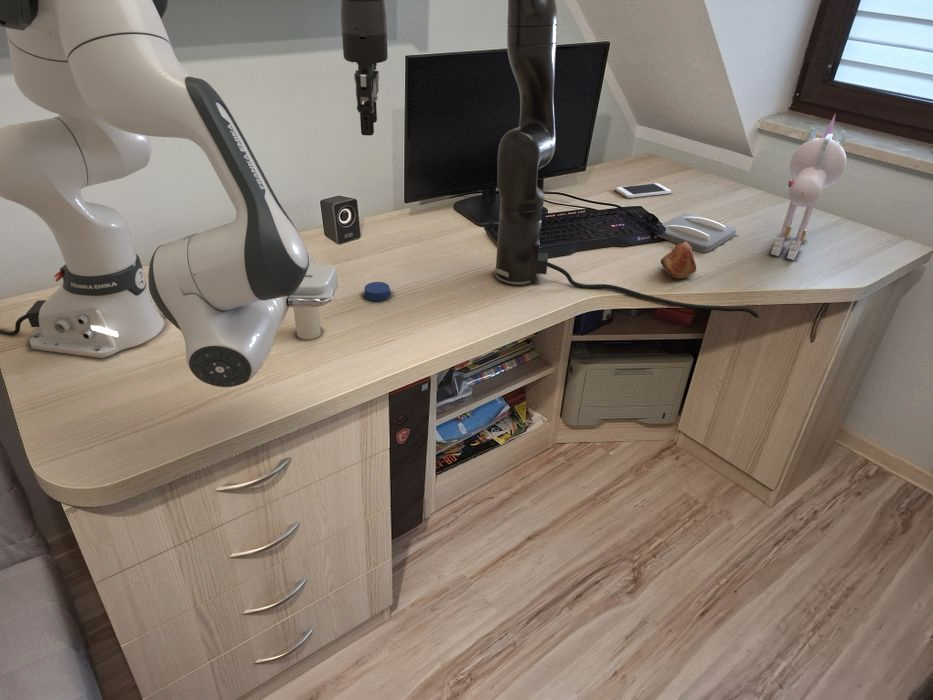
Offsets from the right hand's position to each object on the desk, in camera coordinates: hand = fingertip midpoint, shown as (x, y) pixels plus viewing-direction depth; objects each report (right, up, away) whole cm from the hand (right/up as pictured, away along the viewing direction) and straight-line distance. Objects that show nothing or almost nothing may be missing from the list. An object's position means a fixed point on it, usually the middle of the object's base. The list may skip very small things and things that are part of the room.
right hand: (369, 128), depth 116 cm
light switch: (+78, -10, +52) cm, 94 cm away
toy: (+103, -11, +52) cm, 116 cm away
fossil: (+66, -22, +33) cm, 77 cm away
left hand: (-12, -26, -17) cm, 33 cm away
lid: (-1, -28, +18) cm, 33 cm away
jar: (-13, -37, +6) cm, 40 cm away
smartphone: (+71, +8, +78) cm, 106 cm away
